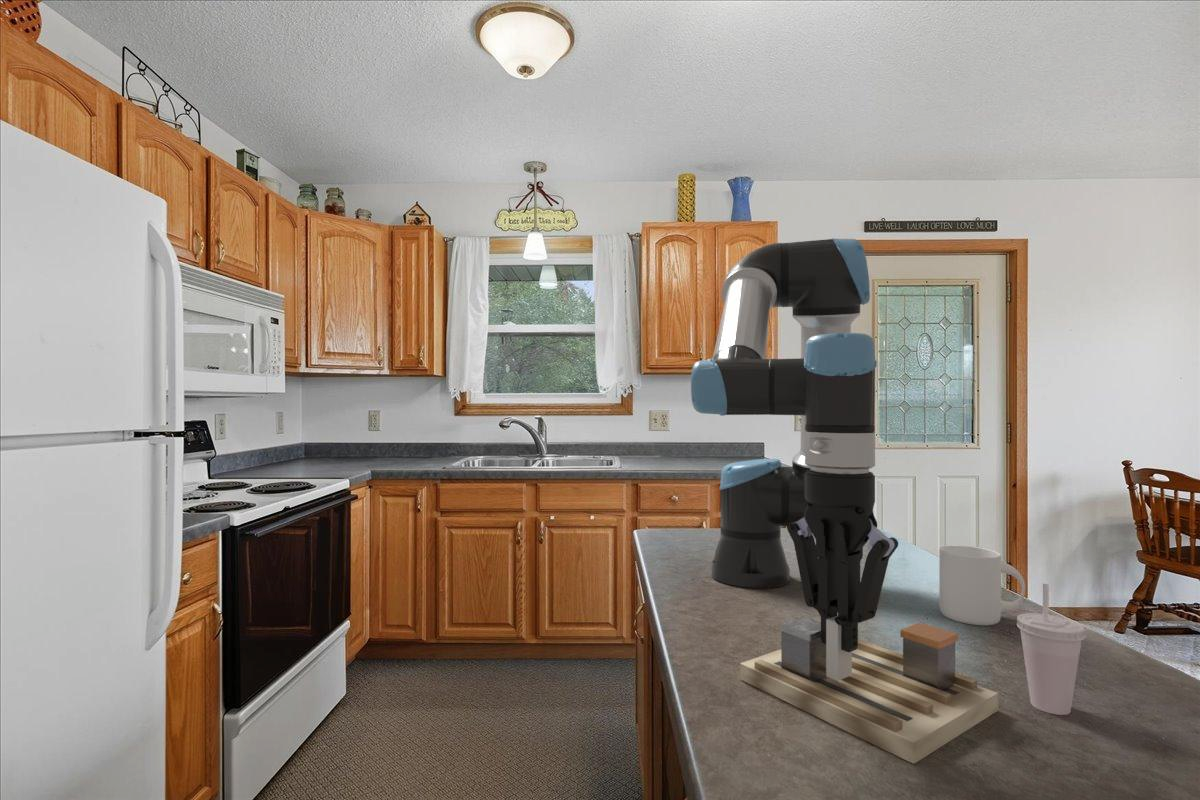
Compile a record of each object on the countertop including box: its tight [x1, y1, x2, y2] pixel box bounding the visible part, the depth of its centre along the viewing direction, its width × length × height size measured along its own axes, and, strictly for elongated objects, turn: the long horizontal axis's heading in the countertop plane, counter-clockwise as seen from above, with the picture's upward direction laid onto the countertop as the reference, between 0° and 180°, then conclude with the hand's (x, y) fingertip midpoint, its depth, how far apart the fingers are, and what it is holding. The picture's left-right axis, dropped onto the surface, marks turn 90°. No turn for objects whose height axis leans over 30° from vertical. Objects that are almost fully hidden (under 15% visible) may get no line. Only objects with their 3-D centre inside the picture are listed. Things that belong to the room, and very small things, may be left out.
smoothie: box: [1016, 583, 1087, 716], centre depth 70 cm, size 6×6×14 cm
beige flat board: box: [739, 638, 999, 765], centre depth 73 cm, size 22×18×3 cm
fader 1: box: [778, 615, 827, 682], centre depth 74 cm, size 4×4×6 cm
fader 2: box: [899, 622, 959, 690], centre depth 72 cm, size 4×4×6 cm
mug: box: [938, 544, 1026, 626], centre depth 100 cm, size 9×12×11 cm
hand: (839, 675), depth 70 cm, fingers closed
